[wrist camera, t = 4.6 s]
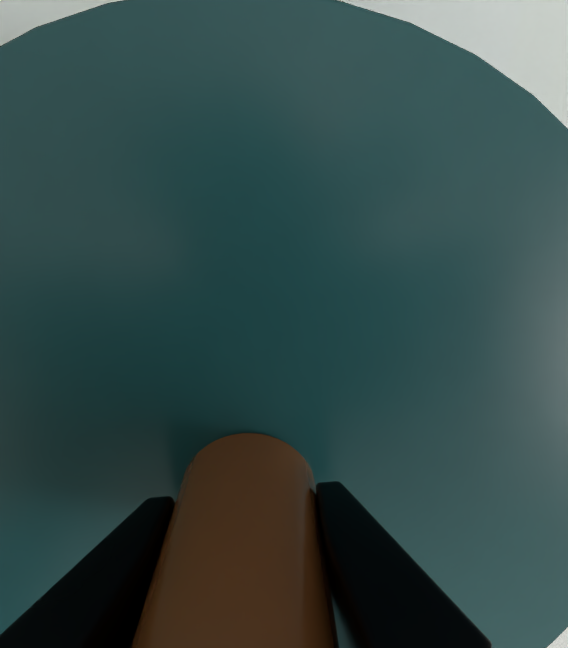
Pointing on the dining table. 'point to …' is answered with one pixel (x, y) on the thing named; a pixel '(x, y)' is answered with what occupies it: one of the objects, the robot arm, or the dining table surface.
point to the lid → (280, 313)
